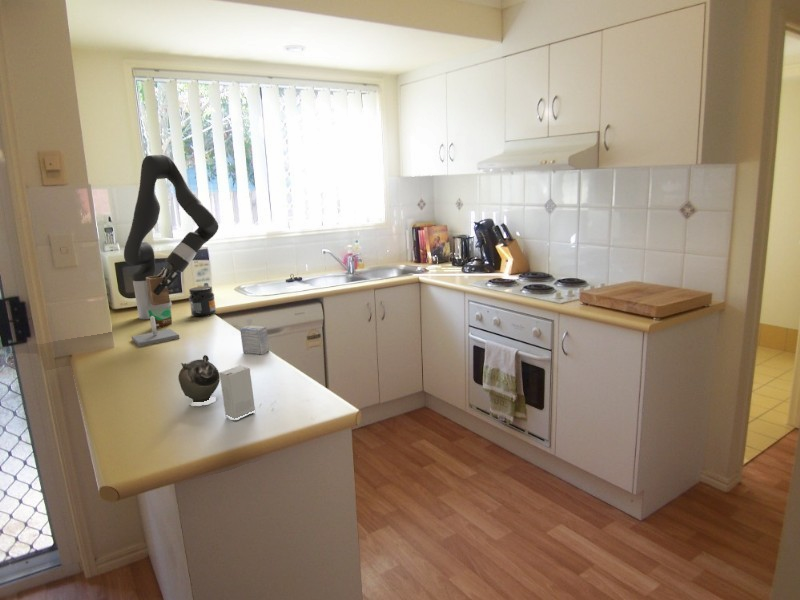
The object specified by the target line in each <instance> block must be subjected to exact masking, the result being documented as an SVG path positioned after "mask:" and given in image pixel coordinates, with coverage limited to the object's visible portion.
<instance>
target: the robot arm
mask: <svg viewBox="0 0 800 600" xmlns="http://www.w3.org/2000/svg"><path fill="white" fill-rule="evenodd" d="M163 179H167V180H168V181H169V182H171V184H172V185H173V187H174V190H175V198H176V201H177V203H178V205H179V206H180V207H181V208H182V209H183V210H184V212H185V213H186V214H187V215H188V216H189V217H190V218H191V219H192V220H193V222H194V223H195V225H196V226H197V229H195V231H189V232H188V233H187V234H186V235H185V236H184V238H183V239H182V240H181V241H180V242H179V243H178V244H177V245H176V246H175V248H174V249H173V250H172V251H171V252H170V254H169V255H168V257H166V259H165V263H166V264H167V266H166V267H161V268H160V270H159V271H158V273H157V271H156V270H157V268H156V259H155V252H154V251H155V250H154V249H153V246H152V245H151V244H150V243H149V242H147V241H146V242H145V241H144V239H145V237H146V236H147V235H148V234H150V232H151V231H152V230H153V228H155V227H156V224H157V222H158V220H159V217H160V212H161V204H160V202H159V200H158V198H157V196H156V192H155V187H156V182H157V180H163ZM137 194H138V195H137V199H136V203H135V207H134V212H133V218H132V221H131V222H132V223H131V227H130V231H129V234H128V237H127V239H126V242H125V246H124V249H123V259H124V261H125V263H126V264H127V265H130V266H139V265H140V267H139V269H138V270H137V271H134V272H133V274H132V275H131V277H132V285H133V290H134V296H135V301H136V307H137V308H136V309H137V314H138V319H139V320H150V317H149V312H148V310H147V305H152V304H150V302H149V296H148V289H147V283H146V277H151V276H158V277H160V276H161V275H162V281H161V282H160V284H159V285H158V286H157V288H156V289H155V290H154V291H153V293H155V294H156V295H159V294H160V293H161V292H162V291H163V289H164V287H165V288H166V287H168V288H169V287H170V286H171V284H172V283H173V282H174V281H175V280H176V279H177V278H178V277H179V274H178V273H177V272H180V273H184V271H185V270H186V269H187V268H188V266H189V265H190V263H191V262H192V261H193V260H194V259H195V256H196V255H197V253H199V251H200V250H201V248H202V247H203V245H205V244H206V243H207V242H208V241H210V239H212V238H213V237H214V236H215V235H216V234H217V232H218V230H219V224H218V221H217V220H216V219H217V218H215V216H214V215H213V214H212V212H210V210H209V209H208V208H207V207H206V206H204V204H203V203H202V202H201V200H200V199H199V198H198V197H197V196H196V194H195V193H194V192H193V190H192V189H191V188H190V186H189V185H188V183H187V182H186V180H185V178H184V177H183V174H182V173H181V171H180V170H179V168H178V166H177V165H176V163H175V161H174V160H173V159H172V158H171V157H170V156H168V155H165V154H154V155H153V154H152V155H151V154H149V155H147V156H145V157H144V158H143V160H142V161H141V169H140V179H139V189H138V193H137ZM143 241H144V242H143ZM156 273H157V274H156ZM165 277H166V278H165ZM166 281H167V282H166Z"/></svg>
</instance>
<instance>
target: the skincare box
mask: <svg viewBox="0 0 800 600" xmlns="http://www.w3.org/2000/svg"><path fill="white" fill-rule="evenodd" d="M219 375H220V381H219V382H220V386H221V392H222V400H223V406H224V407H223V408H224V414H225V416H226V415H228V416H230V417H232V418H234V419H235V418H238V417H240V416H243V415H245V414H248V413H249V412H252V411H254V410H255V411H256V407H255V399H254V392H253V391H254V390H253V383H252V378H251V377H252V376H251V369H250V367H248V366H244V365H237V366H235V367H231V368H229V369H226V370H223V371H220V372H219Z"/></svg>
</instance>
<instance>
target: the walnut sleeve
mask: <svg viewBox="0 0 800 600" xmlns="http://www.w3.org/2000/svg"><path fill="white" fill-rule="evenodd" d="M165 278H166V277H165ZM161 281H162V275H161V276H160V277H158V276H156V275H155V276H151V277H146V283H147V289H148V296H149V302H150V304H152V305H160V304H166V303H170V301H171V300H170V299H171V298H170V293H169V287H166V288H165V287H164V289H163V291H162V292H161V293H160V294H159V295H156V294H155V293H153V291H154V290H155V289H156V288H157V286H158V285H159V284H160V282H161ZM166 282H167V281H166Z"/></svg>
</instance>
